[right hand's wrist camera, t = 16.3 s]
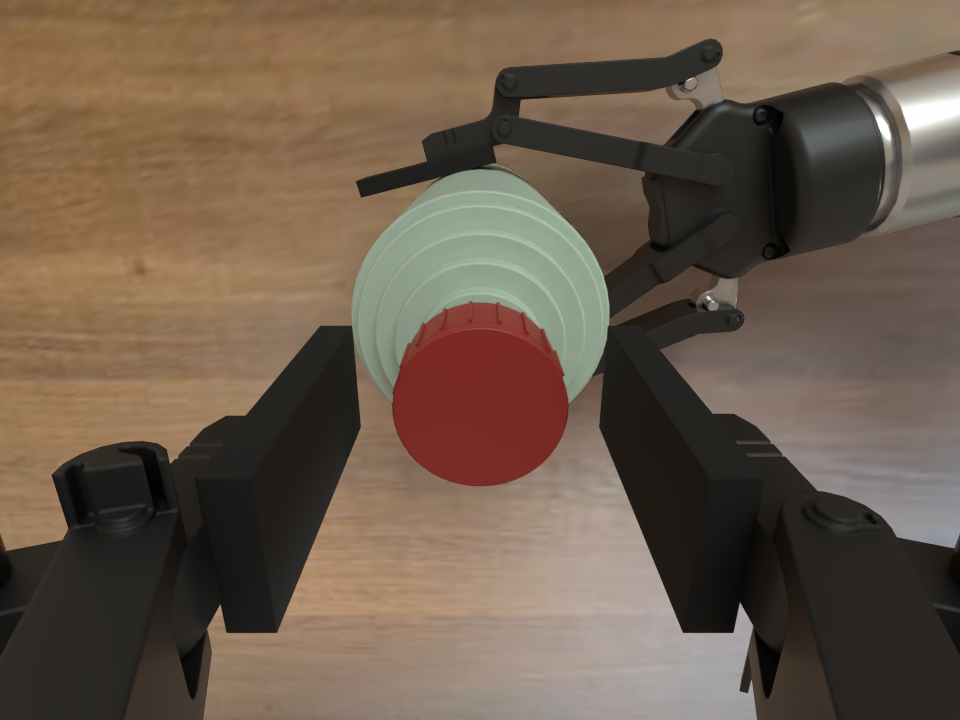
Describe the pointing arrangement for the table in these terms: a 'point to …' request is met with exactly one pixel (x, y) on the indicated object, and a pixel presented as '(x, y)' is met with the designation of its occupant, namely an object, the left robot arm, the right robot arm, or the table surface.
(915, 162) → the left robot arm
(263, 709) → the table surface
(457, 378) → the cap
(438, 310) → the bottle
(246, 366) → the table surface
